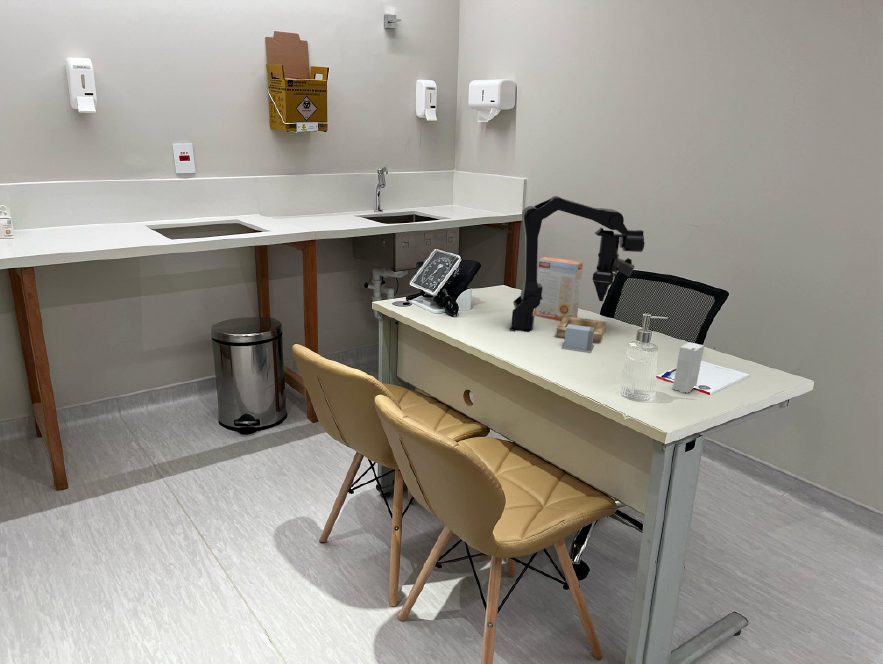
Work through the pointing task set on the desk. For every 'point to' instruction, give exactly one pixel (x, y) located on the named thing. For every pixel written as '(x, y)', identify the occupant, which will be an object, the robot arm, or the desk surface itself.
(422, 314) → the desk surface
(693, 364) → the skincare box
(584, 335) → the box
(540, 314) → the cracker box
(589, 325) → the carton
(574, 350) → the rubber mat
